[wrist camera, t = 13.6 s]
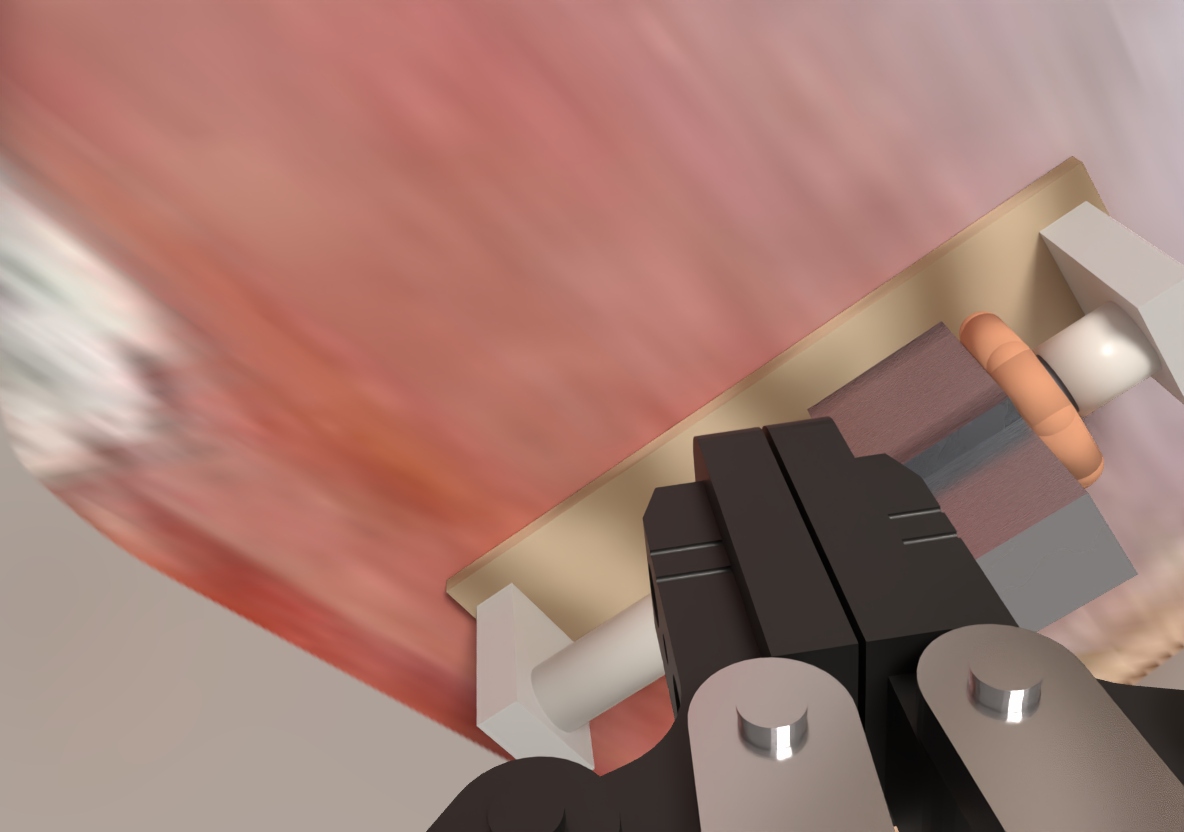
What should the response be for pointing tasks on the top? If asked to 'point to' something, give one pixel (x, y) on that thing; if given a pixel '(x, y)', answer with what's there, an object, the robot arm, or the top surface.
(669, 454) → the base board
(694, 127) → the top surface
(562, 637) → the rod
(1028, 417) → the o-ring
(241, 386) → the top surface
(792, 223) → the top surface
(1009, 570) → the grooved slider block
